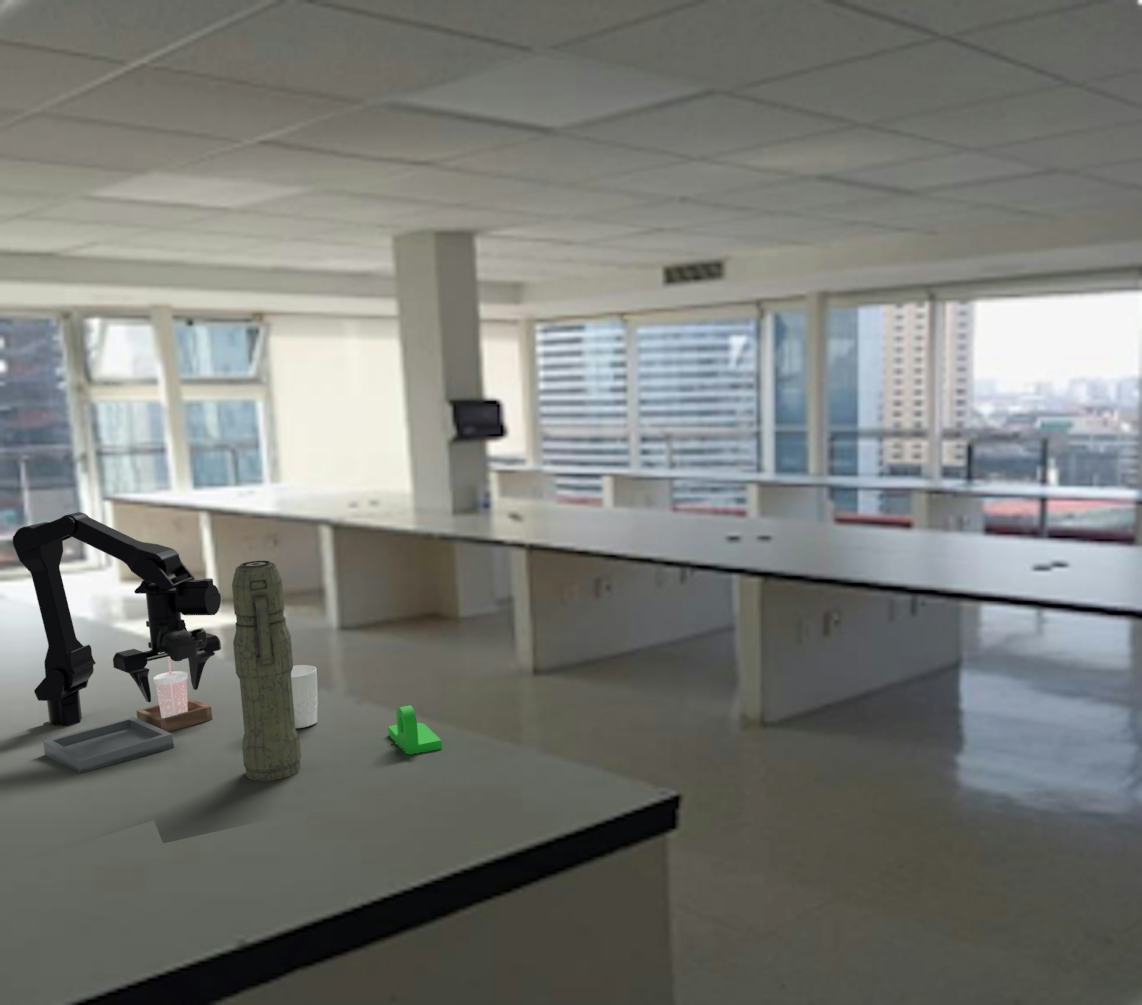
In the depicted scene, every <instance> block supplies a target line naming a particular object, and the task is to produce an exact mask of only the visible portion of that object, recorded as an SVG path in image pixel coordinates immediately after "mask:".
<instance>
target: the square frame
mask: <svg viewBox="0 0 1142 1005" xmlns="http://www.w3.org/2000/svg"><path fill="white" fill-rule="evenodd" d="M187 704H188V712H184V713H180V714H177V715H173V716H170V717H166V718H161V712H160V706H159V704H155V705H152V706H149V707H148V706H147V707H145V708H142V709H137V710H136V718H138V719H140V720H142V721H144V722H147V723H149V724H151V725H153V726H156V727H158V728H160V729H162V730H164V731H167V732H169V733H171V732H173V731H176V730H180V729H184V728H187V727H190V726H194V725H196V724H200V723H204V722H207V721H212V720H213V711H212V706H210V705H208V704H206V703H203V702H201V701H198V700H196V699H192V698H190V697H188V696H187Z"/></svg>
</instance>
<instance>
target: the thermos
mask: <svg viewBox="0 0 1142 1005" xmlns="http://www.w3.org/2000/svg"><path fill="white" fill-rule="evenodd" d="M283 585H284V584H283V578H282V575H281V573H280V571H279V568H278V566H277V564H276V563H275V562H272V561H270V560H252V561H246V562H241V563H240V564H239V565H238V566H236V567H235V570H234V574H233V578H232V584H231V588H232V589H231V590H232V600H233V610H234V611H233V612H234V615H235V617H236V618H235V619H236V622H235V633H234V638H233V641H232V643H233V657H234V665H235V667H234V668H235V674H236V676H237V677H238V679H239V686H240V688H239V689H240V699H241V707H242V709H241V710H242V720H243V731H244V734H243V737H242V746H241V748H242V750H241V751H242V759H243V766H244V768H245V775H246V778H247V779H250V780H251V781H259V782H262V781H263V782H265V781H268V782H269V781H275V780H276V781H277V780H281V779H285V778H288V777H291V776H293V775H295V774H298V773H299V771H301V769H302V765H301V759H302V748H301V747H302V746H301V738H300V735H299V733H298V732H297V728H295V716H294V704H293V692H292V680H291V671H292V668H293V666H294V657H293V656H294V655H293V647H292V646H293V645H292V636H291V632H290V630H289V628H288V626H287V623H286V622H287V621H286V617H285V616H284V614H285V613H284V611H285V599H284V588H283V587H284V586H283Z"/></svg>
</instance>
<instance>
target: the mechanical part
mask: <svg viewBox="0 0 1142 1005" xmlns="http://www.w3.org/2000/svg"><path fill="white" fill-rule="evenodd" d="M387 728H388V737H390V738H391V739H392V741H393V742H395V744H396V743H397V744H396V745H397V746H398V745H399V746H400V747H399V746H398V747H399V748H400V749H401V748H402V749H403V750H402V749H401V750H402V751H403V752H404V751H405V752H404V753H405V754H406V755H407V754H411V755H414V753H416V754H421V753H420V752H422V753H427V752H433V751H437V750H441V749H442V750H443V746H442V744H443V743H442V739H441V738H440V737H439V736H438V735H437V734H436V733H434V731H433V730H432V729H430V728H429V727H428V726H427V724H425V723H422V722H418V721H417V715H416V711H415V710H414V707H413V706H412V705H404V706H399V707H397V709H396V724H393V725H388V726H387Z"/></svg>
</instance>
